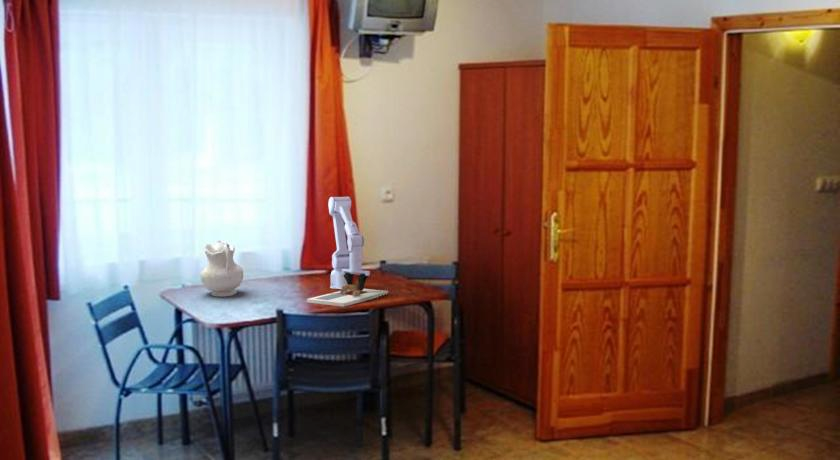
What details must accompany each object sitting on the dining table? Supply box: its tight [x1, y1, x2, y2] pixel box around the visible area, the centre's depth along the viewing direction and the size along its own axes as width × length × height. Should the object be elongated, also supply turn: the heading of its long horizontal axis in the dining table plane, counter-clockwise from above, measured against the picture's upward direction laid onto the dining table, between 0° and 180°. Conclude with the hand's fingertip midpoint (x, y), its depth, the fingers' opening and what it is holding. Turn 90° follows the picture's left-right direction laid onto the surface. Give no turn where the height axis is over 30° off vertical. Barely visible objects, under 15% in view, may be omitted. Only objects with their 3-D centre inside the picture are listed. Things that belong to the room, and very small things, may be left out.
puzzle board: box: [306, 288, 388, 308], centre depth 364 cm, size 20×36×2 cm, turn 149°
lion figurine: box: [340, 279, 360, 295], centre depth 370 cm, size 12×4×7 cm, turn 116°
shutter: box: [352, 289, 389, 299], centre depth 363 cm, size 6×20×3 cm, turn 149°
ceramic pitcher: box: [200, 240, 244, 297], centre depth 370 cm, size 22×20×25 cm
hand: (355, 289), depth 371 cm, fingers closed on lion figurine, 6 cm apart
